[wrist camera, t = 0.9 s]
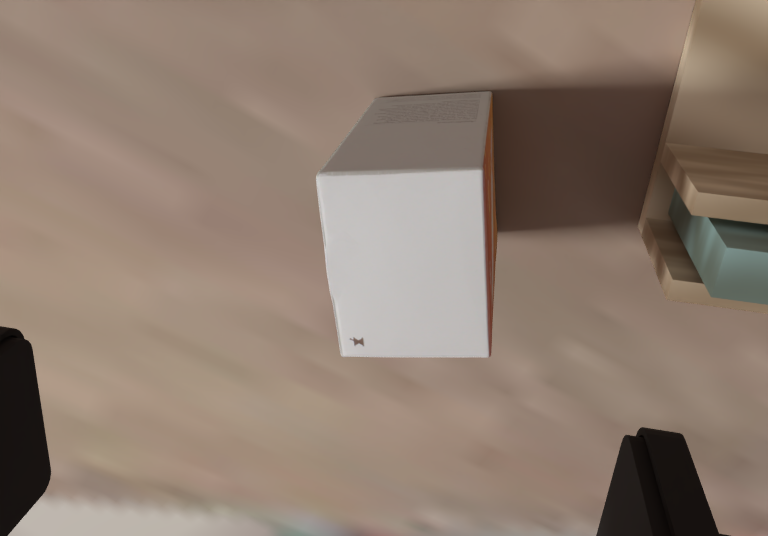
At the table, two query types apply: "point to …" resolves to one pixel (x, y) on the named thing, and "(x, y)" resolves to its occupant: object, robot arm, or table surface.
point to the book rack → (714, 164)
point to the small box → (413, 228)
